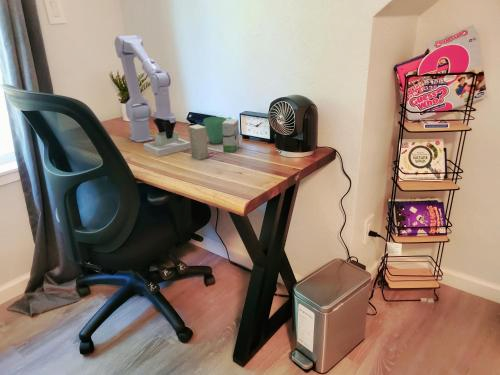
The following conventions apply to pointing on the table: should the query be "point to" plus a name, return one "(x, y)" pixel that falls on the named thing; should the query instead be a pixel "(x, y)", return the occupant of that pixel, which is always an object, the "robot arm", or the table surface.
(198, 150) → the skincare box
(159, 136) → the small crate
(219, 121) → the mug
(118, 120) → the table surface
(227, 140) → the ink box
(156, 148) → the white square tray
